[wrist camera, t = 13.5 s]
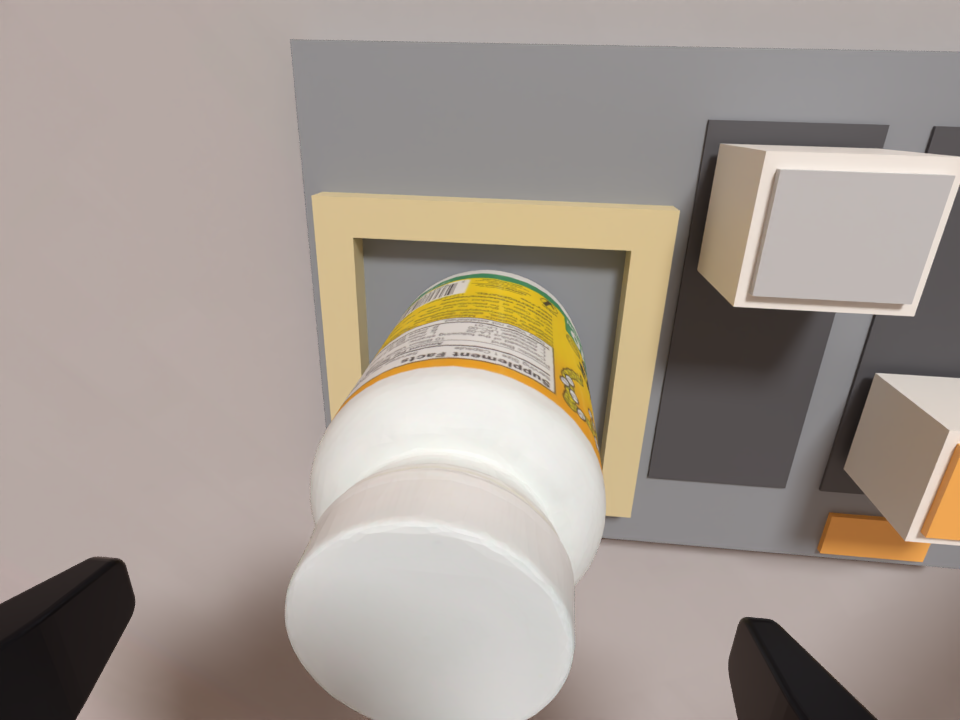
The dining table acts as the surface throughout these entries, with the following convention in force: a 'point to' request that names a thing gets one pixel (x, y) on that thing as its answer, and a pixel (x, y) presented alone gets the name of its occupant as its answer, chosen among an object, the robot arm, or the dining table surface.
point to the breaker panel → (632, 256)
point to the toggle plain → (826, 226)
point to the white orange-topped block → (911, 455)
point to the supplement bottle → (454, 512)
